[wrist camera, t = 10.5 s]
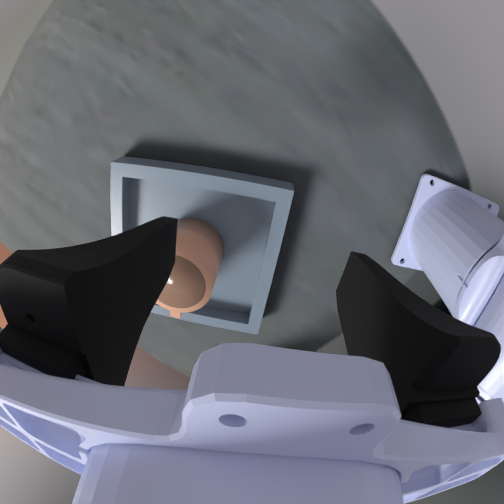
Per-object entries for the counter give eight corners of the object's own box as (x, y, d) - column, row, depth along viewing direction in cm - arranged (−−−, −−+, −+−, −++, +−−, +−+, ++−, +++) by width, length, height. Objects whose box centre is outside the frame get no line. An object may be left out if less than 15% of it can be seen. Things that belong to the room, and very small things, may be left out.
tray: (292, 182, 21) (294, 191, 19) (258, 319, 27) (257, 334, 25) (123, 156, 21) (111, 161, 19) (126, 291, 27) (117, 303, 25)
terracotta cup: (229, 225, 22) (217, 259, 18) (216, 293, 25) (204, 333, 21) (165, 211, 22) (140, 240, 18) (160, 279, 25) (139, 316, 21)
